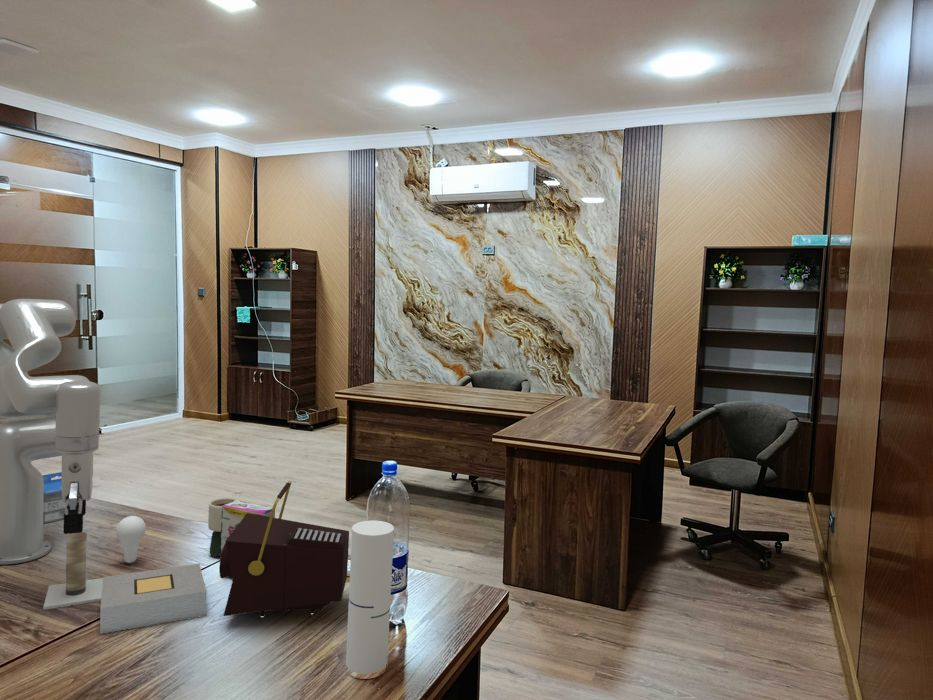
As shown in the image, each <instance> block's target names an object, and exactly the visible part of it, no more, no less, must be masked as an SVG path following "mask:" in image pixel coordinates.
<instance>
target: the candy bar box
mask: <svg viewBox="0 0 933 700" xmlns="http://www.w3.org/2000/svg"><path fill="white" fill-rule="evenodd" d="M238 500H239V499H238ZM238 500H235V501H232V502H230V503H228V504H225V505H223V506H222V524H221V553H222V550H223V547H224V545H225V543H226V542H225V541H226V540H227V538H228V537H229V536H230V534H231V533H232V532H233V531H234V529H235V528H236V527H237V525H238V524H239V523H240V522H241V520H242V519H243V518H244V517H245V515H246V514H247V513H250V514H256V515H261V516H267V517H270V515H271V511H272V508H273V506H272V507H271V506H267V505H262V504H258V503H257V504H255V503H250V502H247V501H241V500H239V501H238ZM273 518H276V510H275V511H274V515H273ZM229 578H231V579H232V576H230V577H229Z"/></svg>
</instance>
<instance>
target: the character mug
mask: <svg viewBox="0 0 933 700" xmlns="http://www.w3.org/2000/svg"><path fill="white" fill-rule="evenodd" d="M235 500H238V501H240V500H239V498H234V497H222V498H221V497H220V498H215V499H213V500H210V501H209V503H208V518H207V519H208V521H207V523H208V529H209V530H210V531H212V534H211V539H210V544H209V555H211V556H213V557H221V524H222V506H223V505H225V504H228V503H230V502H232V501H235Z"/></svg>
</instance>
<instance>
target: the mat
mask: <svg viewBox="0 0 933 700" xmlns="http://www.w3.org/2000/svg"><path fill="white" fill-rule="evenodd" d="M102 584H103V577H102V578H95V579H86V591H85V592H84V593H82V594H79V595H74V596H69V595H66V582H65V583H59V584H50V585H48V588H47V589H48V590H47V592H46V596H45V600H44V604H43V607H42V609H43V611H44V610H45V611H47V610H52V609H58V608H59V607H60V608H65V607H71V605H73V606H78V605H84V604H85V605H86V604H91V603H98V602H101V596H102ZM60 608H59V609H60Z"/></svg>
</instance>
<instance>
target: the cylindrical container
mask: <svg viewBox="0 0 933 700" xmlns="http://www.w3.org/2000/svg"><path fill="white" fill-rule="evenodd" d="M394 527H395V526H394V525H393V524H391V523H390V522H386V521H382V520H363V521H359V522H356V523H355V524H353V525H352V526H351V543H350V545H351V546H350V563H349V564H350V565H349V566H350V567H349V585H348V587H349V589H348V609H347V613H348V615H347V629H346V630H347V631H346V633H347V634H346V655H345V657H346V658H345V667H346V666H347V667H348V669H349V670H351V671H353V672H356V673H359V674H370V673H375V672H378V671H380V670H382V669H383V668H384V667H385V666H386V664H387V665H388V657H389V655H388V654H389V637H390V636H389V635H390V633H389V632H390V617H391V616H390V614H391V613H390V612H391V596H392V594H391V593H392V579H393V578H392V574H393V559H394V558H393V555H394V554H393V553H394V539H395V538H394V535H395V533H394V532H395V528H394Z"/></svg>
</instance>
